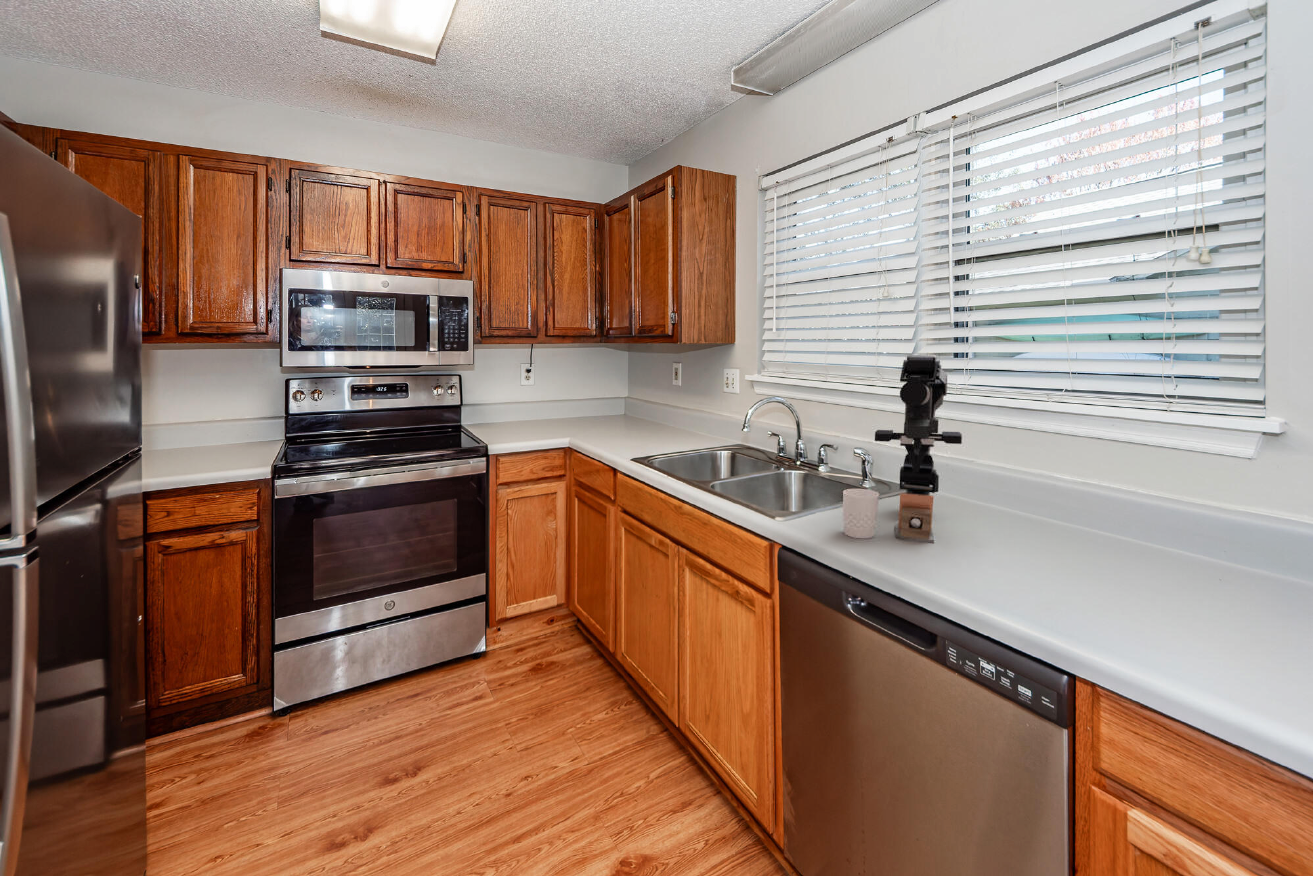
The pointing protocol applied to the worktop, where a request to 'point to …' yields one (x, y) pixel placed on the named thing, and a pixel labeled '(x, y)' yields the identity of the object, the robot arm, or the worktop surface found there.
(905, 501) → the copper wooden slab
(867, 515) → the white cup
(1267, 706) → the worktop surface
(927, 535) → the bearing block
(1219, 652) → the worktop surface
